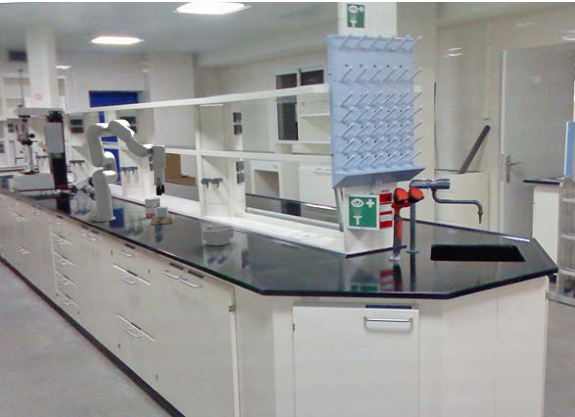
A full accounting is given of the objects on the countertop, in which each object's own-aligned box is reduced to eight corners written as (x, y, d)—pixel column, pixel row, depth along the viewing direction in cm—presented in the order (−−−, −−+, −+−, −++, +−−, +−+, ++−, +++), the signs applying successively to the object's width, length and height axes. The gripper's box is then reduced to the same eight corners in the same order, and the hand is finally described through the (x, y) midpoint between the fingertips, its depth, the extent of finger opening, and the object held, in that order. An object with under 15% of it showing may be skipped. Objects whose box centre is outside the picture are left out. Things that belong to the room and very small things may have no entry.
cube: (157, 217, 333) (157, 208, 333) (159, 215, 339) (158, 206, 338) (167, 217, 334) (166, 208, 333) (168, 215, 339) (167, 206, 338)
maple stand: (151, 224, 331) (151, 218, 330) (155, 220, 342) (155, 215, 342) (172, 223, 331) (171, 217, 331) (175, 219, 343) (174, 214, 342)
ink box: (150, 218, 352) (149, 199, 350) (145, 217, 355) (144, 199, 353) (161, 215, 359) (160, 197, 357) (156, 215, 362) (155, 197, 360)
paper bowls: (203, 241, 279) (203, 225, 278) (234, 239, 280) (233, 224, 279) (201, 248, 264) (200, 231, 263) (233, 246, 265) (233, 230, 264)
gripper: (155, 164, 340) (156, 192, 343) (150, 167, 323) (151, 196, 326) (168, 164, 340) (169, 192, 343) (163, 167, 323) (164, 196, 326)
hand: (160, 194), depth 334 cm, fingers open, 9 cm apart
